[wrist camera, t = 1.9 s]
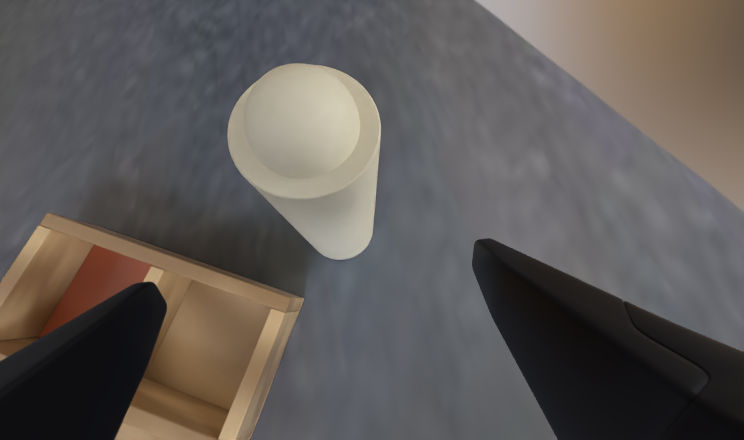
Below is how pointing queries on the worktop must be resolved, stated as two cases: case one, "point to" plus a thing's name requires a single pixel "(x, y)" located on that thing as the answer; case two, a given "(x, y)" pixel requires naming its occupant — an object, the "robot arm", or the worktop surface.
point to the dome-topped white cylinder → (312, 153)
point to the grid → (178, 332)
